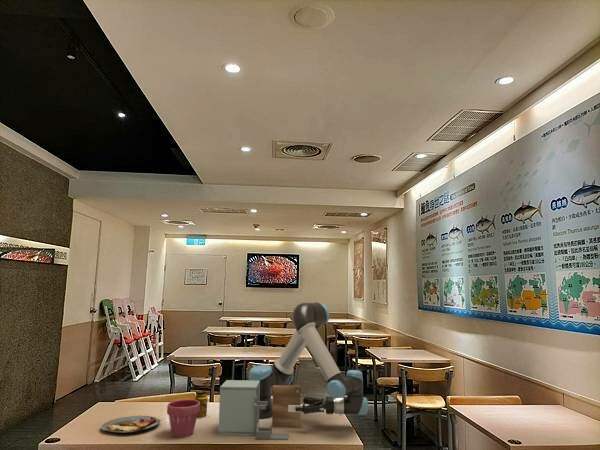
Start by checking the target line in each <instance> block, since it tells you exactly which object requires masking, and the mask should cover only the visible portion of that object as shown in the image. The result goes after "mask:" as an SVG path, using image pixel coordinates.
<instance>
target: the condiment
mask: <svg viewBox="0 0 600 450" xmlns="http://www.w3.org/2000/svg"><path fill="white" fill-rule="evenodd" d="M207 395H208V391H207V390H204V389H203V390H200V389H199V390H197V391H196V392H195V398H194V400H197V401H199V402H200V411H199V412H198V414H197V419H204V418H209V417H210V415H208V414H207V413H208V396H207ZM197 419H196V420H197Z"/></svg>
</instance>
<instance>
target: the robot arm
mask: <svg viewBox="0 0 600 450" xmlns="http://www.w3.org/2000/svg"><path fill="white" fill-rule="evenodd" d="M291 318H292V323H293V325H294V328H295V331H294V333H293V335H292V336H291V338H290V340H289V342H288V343H287V345H286V346H285V348H284V350H283V352H282V354H281V355H280V357H279V358H276V359H275V360H274V362H273V363H272V364H271V365H268V364H261V365H256V366H255V365H254V366H252V367H251V368H250V370H249V373H248V374H249V375H248V381H260V400H259V401H268V405H266V409H259V420H260V419H261V420H262V419H268V418H272V406H273V399H272V391H273V385H290V384H291V383H292V382H293V380H294V371H295V370H294V366H295V364H296V363H297V361H298V359H299V357H300V356H301V354H302V353H303V351H304V349H305V347H306V346H307V348H308V349H309V352H310V353H311V355H312V357H313V359H314V361H315V363H316V364H317V366H318V368H319V370H320V372H321V374H322V375H323V377H324V379H325V380H326V383H327V385H326V390H327V391H326V392H327V394H328V395H329V396H326V397H325V400H324V398H320V397H319V398H318V397H310V396H305V397H301V402H300V405H288V412H300V413H303V414H304V415H306V414H307V415H309V414H314V413H325V414H327V415H333V414H335V415H339V416H342V415H355V416H356V415H357V416H360V415H366V414H368V409H369V405H368V404H369V402H368V398H367V397H366V396H365V397H364V379H363V372H362V371H360V370H356V369H350V370H349V369H348V370H347V371H346V375H345V377H344V376H343V374H342V373H341V371H340V368H339V367H338V365H337V364H336V362H335V360H334V358H333V356H332V354H331V353H330V351H329V349H328V348H327V346H326V344H325V342H324V340H323V339H322V336H321V335H320V334H319V330H320V328H321V327H322V326H325V325H326V324H327V323H328V322H329V320H330V311H329V307H327V305H326V304H324V303H322V302H318V301H317V302H301V303H298V304H297V305H296V306H295V307H294V310H293V311H292V317H291Z"/></svg>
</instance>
